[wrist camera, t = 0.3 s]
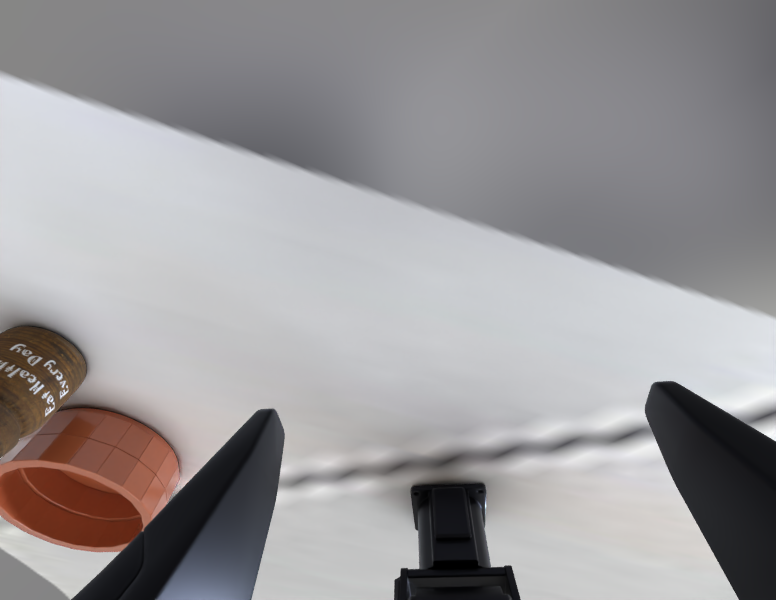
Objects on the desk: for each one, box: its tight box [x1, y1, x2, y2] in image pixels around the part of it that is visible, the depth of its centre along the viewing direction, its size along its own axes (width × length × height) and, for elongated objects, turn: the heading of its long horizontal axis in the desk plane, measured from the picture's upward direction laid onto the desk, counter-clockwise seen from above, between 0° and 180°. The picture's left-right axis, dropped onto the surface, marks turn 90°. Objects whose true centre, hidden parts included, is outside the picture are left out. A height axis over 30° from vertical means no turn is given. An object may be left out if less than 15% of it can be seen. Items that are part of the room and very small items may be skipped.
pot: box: [0, 408, 180, 552], centre depth 32 cm, size 12×12×5 cm
